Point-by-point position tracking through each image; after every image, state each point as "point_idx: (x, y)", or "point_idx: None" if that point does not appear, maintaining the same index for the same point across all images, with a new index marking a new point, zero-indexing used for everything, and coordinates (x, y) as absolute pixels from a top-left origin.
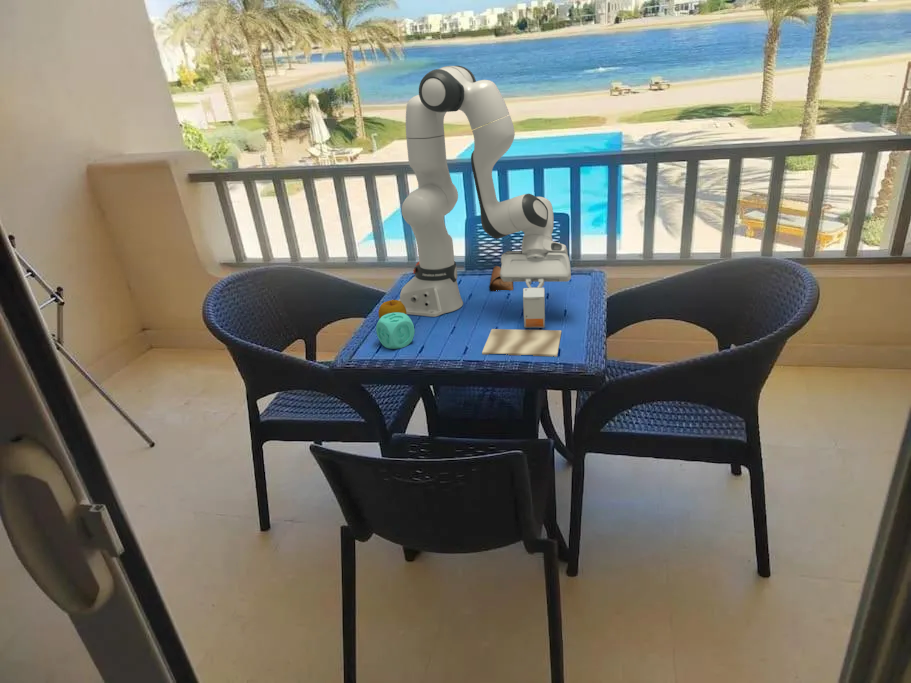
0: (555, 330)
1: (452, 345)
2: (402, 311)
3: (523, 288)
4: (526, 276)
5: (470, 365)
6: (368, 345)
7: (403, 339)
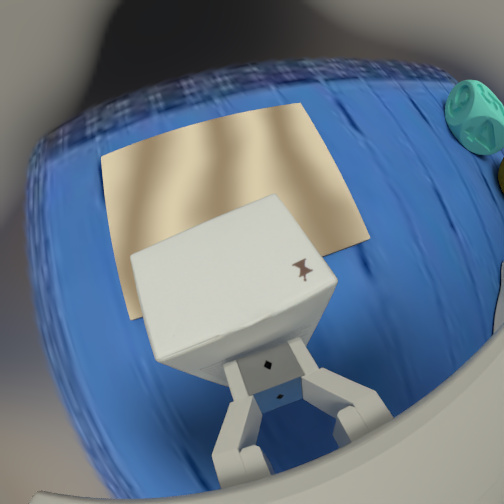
0: None
1: (390, 132)
2: None
3: (333, 275)
4: (396, 422)
5: (289, 69)
6: None
7: (453, 107)
